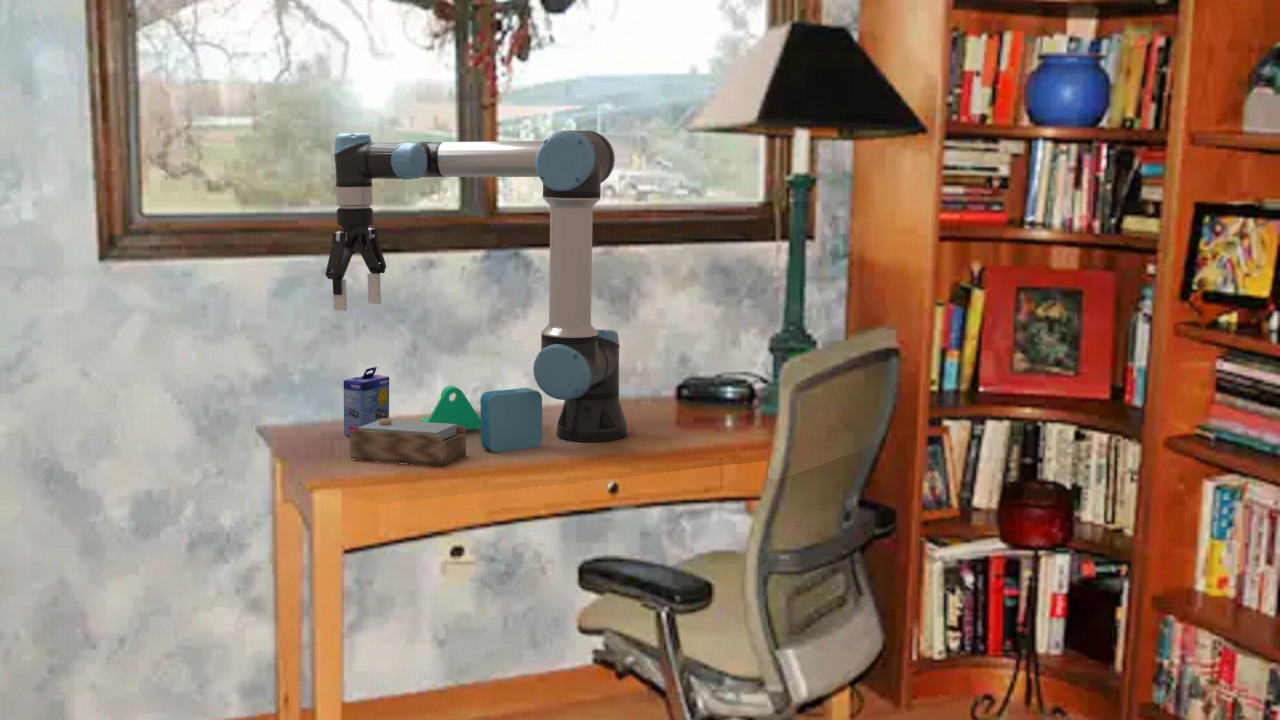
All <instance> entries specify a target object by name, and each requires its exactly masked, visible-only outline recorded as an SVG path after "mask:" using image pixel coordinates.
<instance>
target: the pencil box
mask: <svg viewBox="0 0 1280 720" xmlns="http://www.w3.org/2000/svg"><path fill="white" fill-rule="evenodd" d="M376 421H377V420H376ZM466 432H467V431H465V426H457V434H456V435H453V436H451V437H449V438H446V439H444V440H443V436H436V435H421V434H406V433H392V432H377V431H362V430H350V436H349V441H350V443H349V445H350V446H349V447H350V451H349V453H350V460H351V459H356V460H355V461H358V460H366V461H365V462H371V461H379V462H378V463H385V462H393V463H392V464H398V463H407V464H406V465H411V464H417V465H416V466H425V465H427V466H429V467H442V468H443V467H445V466H446V465H449V464H451V463H453V462H455V461H457V460H460V459H462V458H464V457H466V456H467V448H466V447H467V440H466V439H467V437H466V436H467V435H466V434H467V433H466ZM395 462H396V463H395ZM427 466H426V467H427Z"/></svg>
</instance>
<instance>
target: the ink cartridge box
mask: <svg viewBox="0 0 1280 720" xmlns="http://www.w3.org/2000/svg"><path fill="white" fill-rule="evenodd" d="M377 368H378V367H377V366H373V367H370V368H367V369H365V371H364V372H363V375H361V376H355V377H351V378H348V379H345V380H343V435H344V436H348V437H350V430H359V427H361V426H364V425H367V424H369V423H372V422H375V421H376V420H379V419H383V418H389V419H390V376H386V375H382V374H376V371H377ZM371 371H372V372H371Z"/></svg>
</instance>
